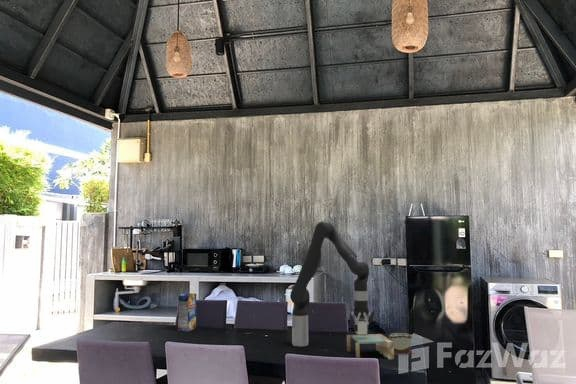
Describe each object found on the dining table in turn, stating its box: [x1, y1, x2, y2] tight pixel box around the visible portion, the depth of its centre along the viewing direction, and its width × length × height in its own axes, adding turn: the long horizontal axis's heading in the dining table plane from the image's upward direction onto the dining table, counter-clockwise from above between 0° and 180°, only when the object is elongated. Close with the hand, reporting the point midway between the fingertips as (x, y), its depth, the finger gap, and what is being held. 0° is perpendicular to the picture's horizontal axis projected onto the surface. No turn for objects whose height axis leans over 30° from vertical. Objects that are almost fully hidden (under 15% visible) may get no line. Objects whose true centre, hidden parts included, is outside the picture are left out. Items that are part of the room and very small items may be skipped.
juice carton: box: [177, 292, 197, 333], centre depth 299 cm, size 12×8×24 cm, turn 165°
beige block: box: [355, 320, 368, 335], centre depth 230 cm, size 5×5×6 cm
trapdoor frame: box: [346, 333, 395, 360], centre depth 229 cm, size 20×20×8 cm
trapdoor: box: [351, 334, 385, 345], centre depth 230 cm, size 14×14×1 cm
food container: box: [388, 332, 413, 355], centre depth 233 cm, size 12×6×10 cm, turn 92°
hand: (361, 331), depth 230 cm, fingers closed on beige block, 5 cm apart
